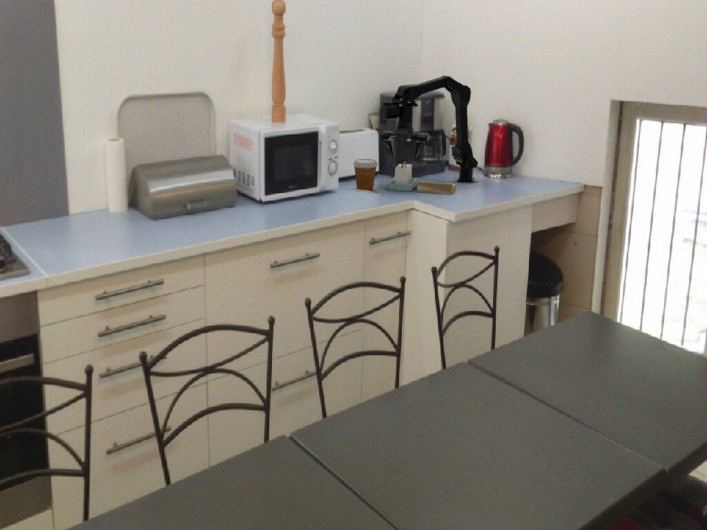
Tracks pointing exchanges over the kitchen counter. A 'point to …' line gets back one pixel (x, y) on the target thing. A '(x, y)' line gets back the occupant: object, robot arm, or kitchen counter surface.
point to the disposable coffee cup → (365, 173)
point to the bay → (435, 187)
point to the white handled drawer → (403, 174)
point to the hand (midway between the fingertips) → (404, 157)
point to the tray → (402, 185)
